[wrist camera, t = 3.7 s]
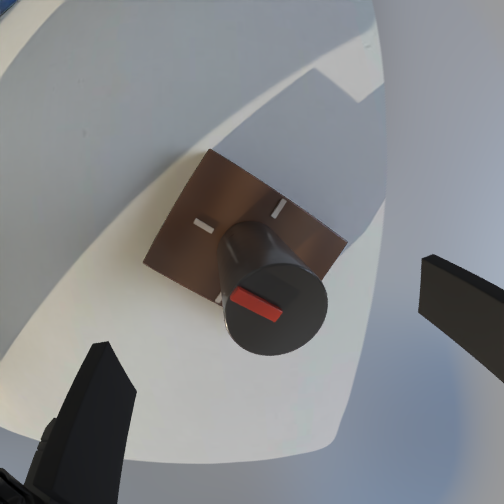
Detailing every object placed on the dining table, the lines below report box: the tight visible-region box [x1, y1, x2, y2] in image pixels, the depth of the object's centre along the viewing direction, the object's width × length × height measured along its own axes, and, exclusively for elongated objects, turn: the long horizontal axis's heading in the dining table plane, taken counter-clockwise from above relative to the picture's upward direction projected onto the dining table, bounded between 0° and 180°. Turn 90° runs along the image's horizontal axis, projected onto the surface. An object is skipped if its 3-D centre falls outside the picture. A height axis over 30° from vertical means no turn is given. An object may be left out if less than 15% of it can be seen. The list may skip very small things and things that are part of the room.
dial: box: [217, 221, 328, 356], centre depth 15 cm, size 4×4×9 cm
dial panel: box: [143, 149, 347, 307], centre depth 21 cm, size 12×9×3 cm
